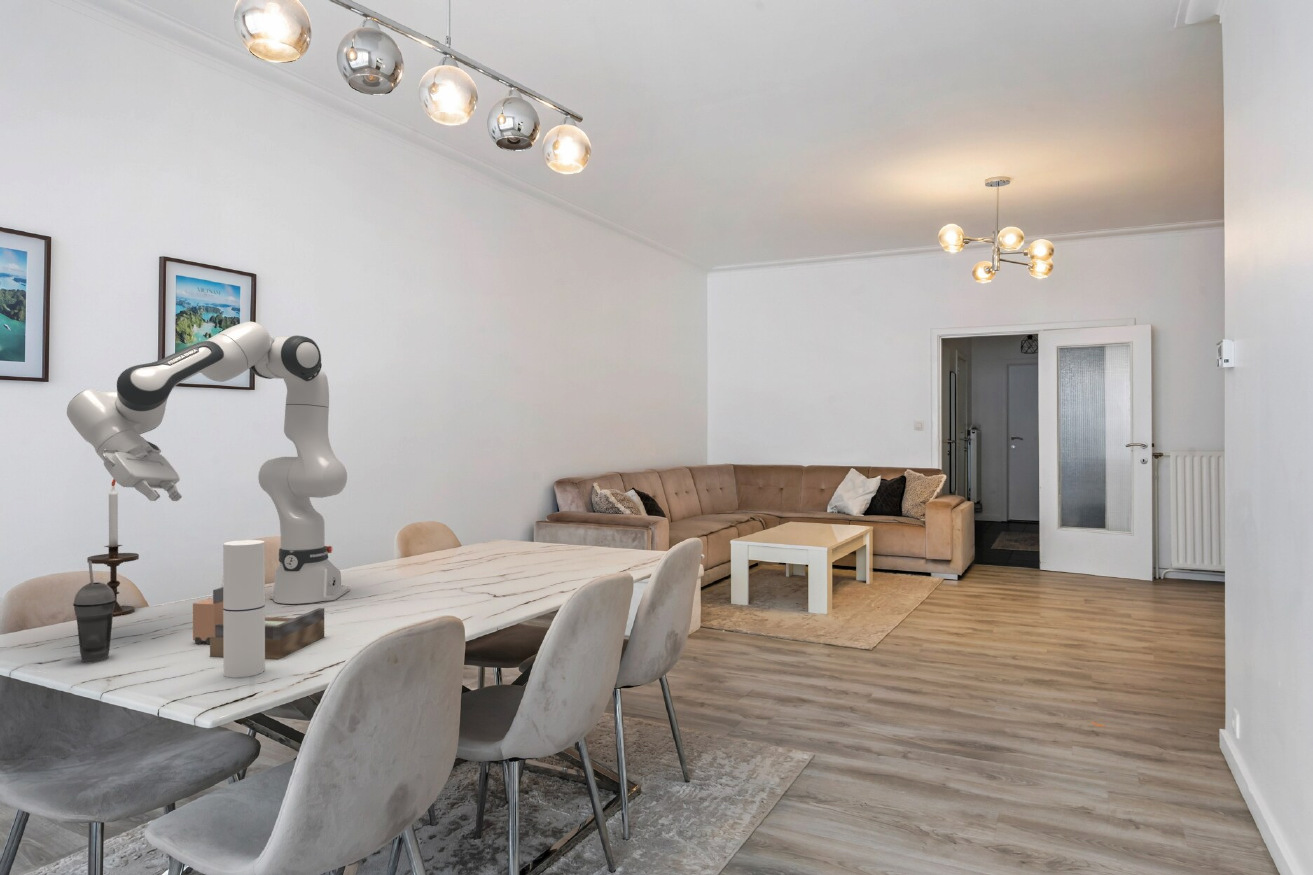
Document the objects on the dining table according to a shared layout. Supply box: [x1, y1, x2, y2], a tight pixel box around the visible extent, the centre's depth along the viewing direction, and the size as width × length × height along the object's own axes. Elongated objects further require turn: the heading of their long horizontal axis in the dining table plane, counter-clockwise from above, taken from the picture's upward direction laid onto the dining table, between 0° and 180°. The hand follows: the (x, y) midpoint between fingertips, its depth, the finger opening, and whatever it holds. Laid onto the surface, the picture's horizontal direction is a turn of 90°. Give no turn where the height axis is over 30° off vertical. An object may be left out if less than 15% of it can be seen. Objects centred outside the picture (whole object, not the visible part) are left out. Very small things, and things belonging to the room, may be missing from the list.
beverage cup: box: [72, 561, 116, 663], centre depth 166 cm, size 7×7×20 cm
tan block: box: [192, 586, 224, 646], centre depth 180 cm, size 5×5×12 cm
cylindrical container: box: [222, 539, 266, 679], centre depth 158 cm, size 7×7×25 cm
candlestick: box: [86, 478, 140, 617], centre depth 207 cm, size 11×11×35 cm
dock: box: [209, 607, 325, 660], centre depth 177 cm, size 18×15×6 cm
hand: (167, 499), depth 181 cm, fingers open, 8 cm apart
